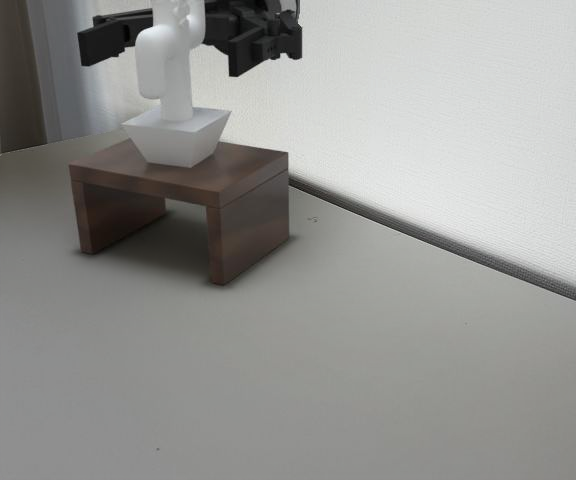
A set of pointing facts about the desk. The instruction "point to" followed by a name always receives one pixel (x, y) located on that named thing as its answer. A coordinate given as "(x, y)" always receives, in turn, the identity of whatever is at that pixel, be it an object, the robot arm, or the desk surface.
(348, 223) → the desk surface
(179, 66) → the figurine
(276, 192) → the shelf
